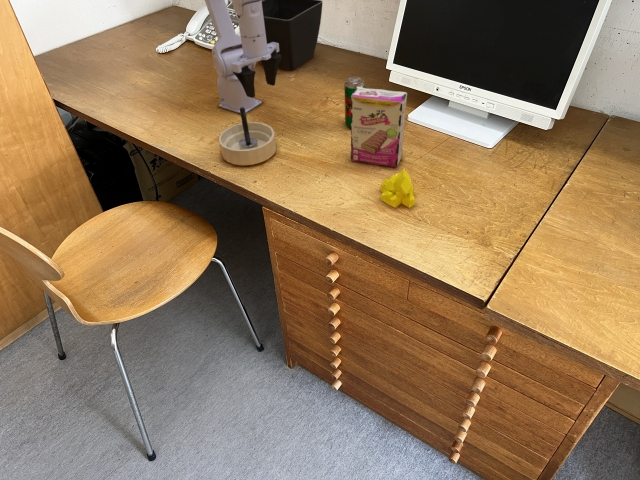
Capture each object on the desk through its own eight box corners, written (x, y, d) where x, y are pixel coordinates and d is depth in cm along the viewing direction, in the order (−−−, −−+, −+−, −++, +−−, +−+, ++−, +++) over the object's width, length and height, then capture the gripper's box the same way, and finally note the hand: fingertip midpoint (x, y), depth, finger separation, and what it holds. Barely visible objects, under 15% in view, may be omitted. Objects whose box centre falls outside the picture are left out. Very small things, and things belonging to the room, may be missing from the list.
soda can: (363, 130, 120) (363, 85, 112) (343, 129, 121) (342, 84, 113) (366, 120, 124) (366, 76, 116) (346, 119, 125) (346, 75, 117)
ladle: (236, 151, 115) (228, 109, 107) (248, 143, 118) (241, 101, 110) (250, 156, 113) (242, 113, 105) (262, 148, 116) (255, 105, 108)
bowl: (211, 157, 115) (207, 140, 112) (247, 132, 123) (244, 117, 119) (251, 173, 109) (248, 156, 106) (287, 147, 116) (285, 130, 113)
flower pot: (245, 67, 153) (236, 11, 142) (279, 46, 165) (273, -7, 153) (294, 77, 145) (289, 20, 134) (326, 55, 157) (324, 0, 146)
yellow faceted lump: (392, 183, 103) (394, 153, 98) (421, 200, 99) (424, 168, 93) (373, 195, 101) (374, 164, 95) (402, 212, 96) (404, 181, 91)
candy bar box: (350, 162, 110) (349, 95, 99) (356, 150, 114) (356, 85, 102) (397, 169, 107) (402, 101, 96) (402, 157, 111) (407, 90, 99)
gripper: (244, 47, 102) (253, 106, 111) (286, 26, 110) (292, 82, 119) (220, 41, 105) (231, 99, 114) (263, 21, 113) (270, 76, 122)
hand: (261, 90), depth 117 cm, fingers open, 7 cm apart
